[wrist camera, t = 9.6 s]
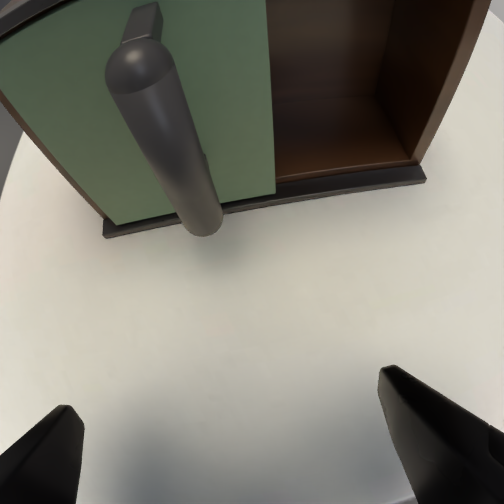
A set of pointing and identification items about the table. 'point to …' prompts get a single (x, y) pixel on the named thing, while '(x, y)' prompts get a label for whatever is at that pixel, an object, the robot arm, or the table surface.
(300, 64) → the cupboard
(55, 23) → the sliding door
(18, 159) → the table surface
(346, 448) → the table surface
